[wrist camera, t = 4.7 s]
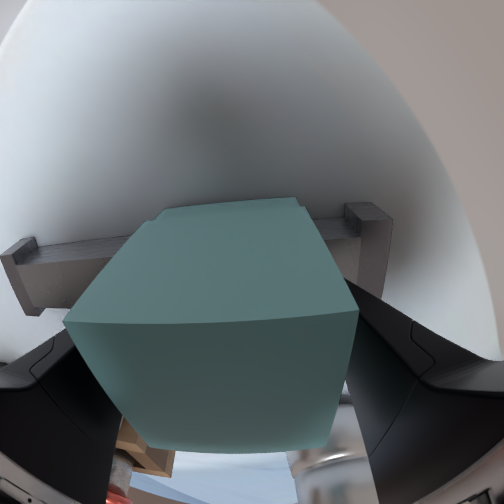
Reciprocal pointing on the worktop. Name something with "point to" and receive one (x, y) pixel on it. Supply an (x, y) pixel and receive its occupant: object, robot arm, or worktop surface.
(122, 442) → the brown button housing
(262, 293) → the carriage
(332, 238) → the rail
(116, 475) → the button
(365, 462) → the plastic bottle
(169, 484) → the worktop surface
